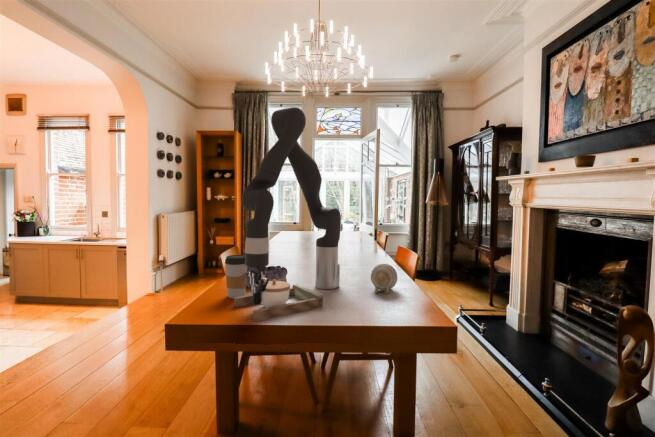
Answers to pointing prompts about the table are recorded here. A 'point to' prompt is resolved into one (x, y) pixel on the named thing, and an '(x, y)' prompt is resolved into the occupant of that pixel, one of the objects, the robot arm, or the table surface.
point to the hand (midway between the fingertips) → (256, 303)
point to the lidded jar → (275, 293)
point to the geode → (273, 274)
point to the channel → (308, 302)
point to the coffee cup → (236, 275)
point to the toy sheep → (383, 277)
